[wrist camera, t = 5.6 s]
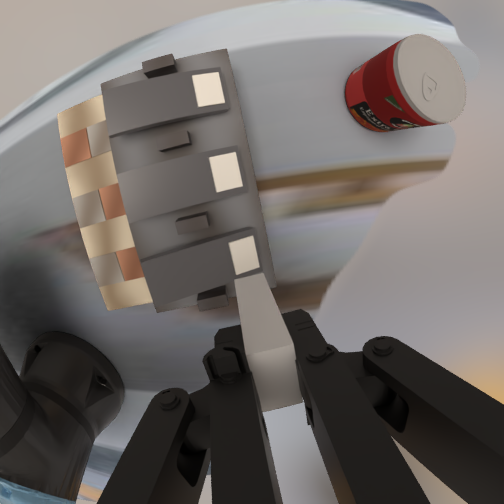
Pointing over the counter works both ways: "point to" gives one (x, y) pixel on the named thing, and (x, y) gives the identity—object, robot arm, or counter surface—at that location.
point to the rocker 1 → (164, 100)
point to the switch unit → (147, 153)
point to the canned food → (407, 86)
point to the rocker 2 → (201, 265)
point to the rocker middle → (181, 183)
